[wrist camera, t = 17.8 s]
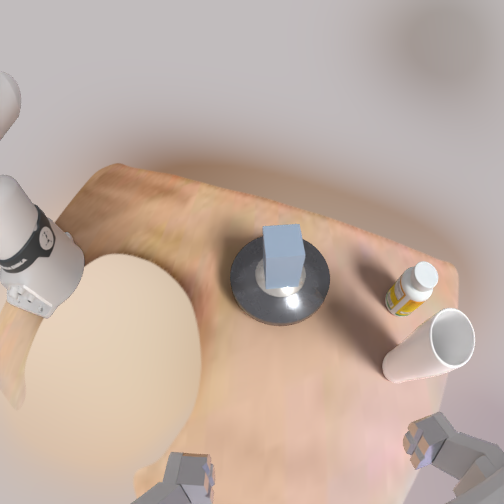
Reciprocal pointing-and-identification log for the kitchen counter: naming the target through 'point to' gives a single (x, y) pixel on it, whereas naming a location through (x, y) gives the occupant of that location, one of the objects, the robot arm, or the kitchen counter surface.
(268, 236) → the block
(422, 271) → the supplement bottle
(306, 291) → the stand
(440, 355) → the drinking glass
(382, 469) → the kitchen counter surface
